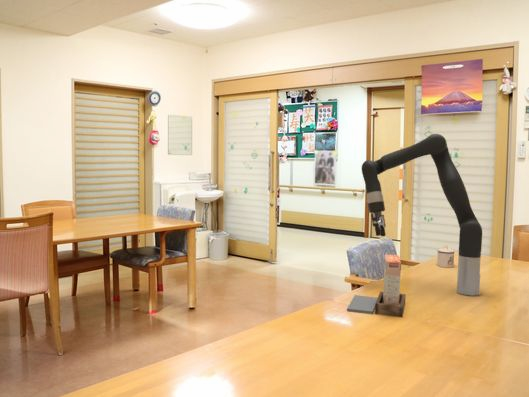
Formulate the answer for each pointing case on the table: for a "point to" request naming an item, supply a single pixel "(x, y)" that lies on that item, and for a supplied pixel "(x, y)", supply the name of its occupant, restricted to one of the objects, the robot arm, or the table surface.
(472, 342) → the table surface
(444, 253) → the teacup with lid
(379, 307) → the walnut collar
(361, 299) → the flat gray rectangular board
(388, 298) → the cracker box
